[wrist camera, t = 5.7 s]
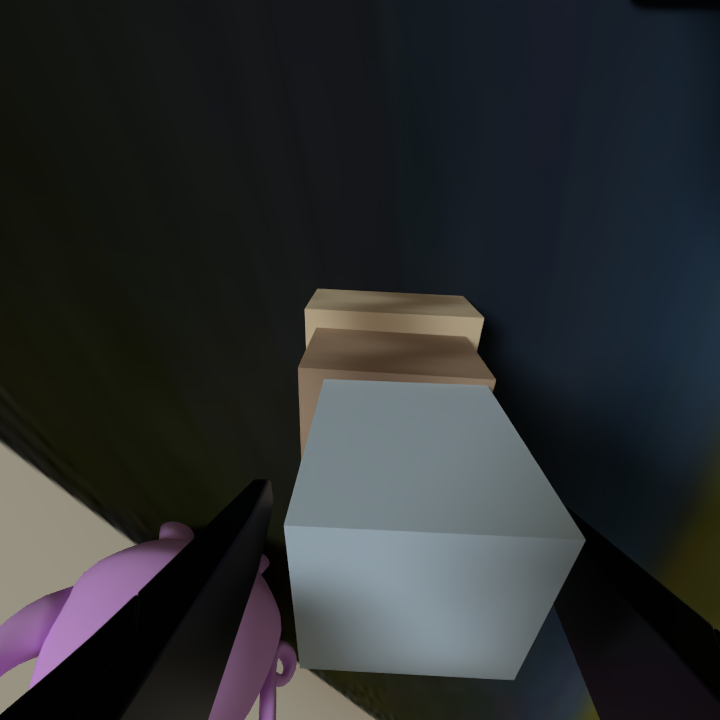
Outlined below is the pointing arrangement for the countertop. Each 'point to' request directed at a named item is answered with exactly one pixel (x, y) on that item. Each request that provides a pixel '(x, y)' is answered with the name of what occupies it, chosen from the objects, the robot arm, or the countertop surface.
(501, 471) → the pale blue cube
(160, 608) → the robot arm
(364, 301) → the oak base slab
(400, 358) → the walnut mid slab
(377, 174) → the countertop surface
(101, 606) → the teapot
